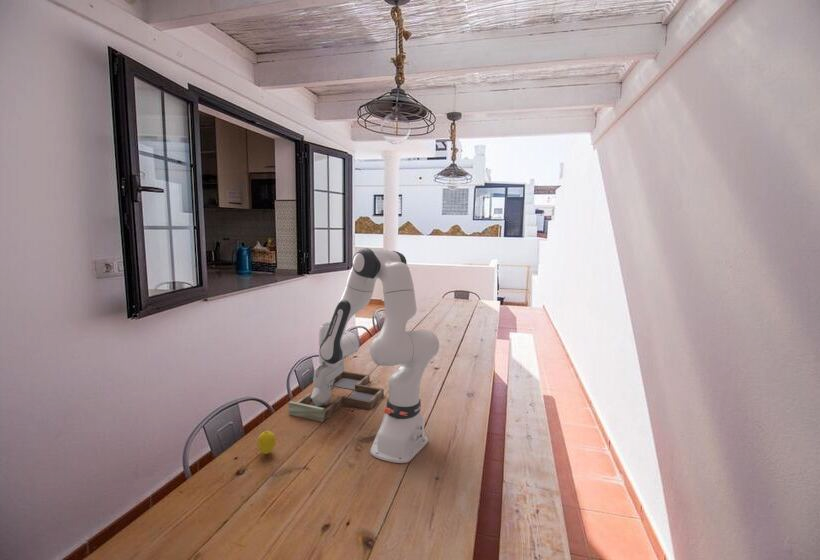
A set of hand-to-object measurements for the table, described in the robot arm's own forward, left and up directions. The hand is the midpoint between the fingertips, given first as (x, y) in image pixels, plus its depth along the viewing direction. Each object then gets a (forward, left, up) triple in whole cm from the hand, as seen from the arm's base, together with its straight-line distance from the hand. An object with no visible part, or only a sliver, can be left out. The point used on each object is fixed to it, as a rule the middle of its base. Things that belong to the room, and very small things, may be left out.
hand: (329, 389), depth 164 cm
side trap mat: (+5, -13, -4) cm, 15 cm away
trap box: (+3, -6, -4) cm, 8 cm away
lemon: (-43, -2, -4) cm, 43 cm away
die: (-6, 0, -5) cm, 7 cm away
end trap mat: (+18, 0, -4) cm, 18 cm away
